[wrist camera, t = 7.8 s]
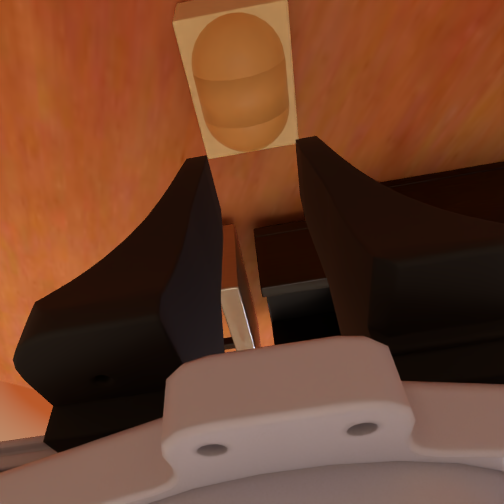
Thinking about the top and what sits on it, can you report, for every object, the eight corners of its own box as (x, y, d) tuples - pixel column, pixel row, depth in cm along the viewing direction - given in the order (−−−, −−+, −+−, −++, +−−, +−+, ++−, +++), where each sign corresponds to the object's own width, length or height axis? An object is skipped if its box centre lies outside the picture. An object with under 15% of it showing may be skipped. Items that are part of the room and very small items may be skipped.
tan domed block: (278, -17, 17) (293, 8, 14) (290, 117, 21) (304, 159, 18) (176, 3, 17) (169, 32, 14) (208, 132, 21) (207, 176, 18)
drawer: (182, 335, 32) (179, 396, 28) (137, 239, 25) (124, 305, 21) (398, 301, 31) (424, 360, 28) (416, 192, 24) (455, 252, 20)
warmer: (347, 305, 33) (372, 383, 28) (350, 187, 24) (385, 267, 20) (514, 279, 32) (569, 355, 27) (573, 149, 24) (667, 222, 19)
